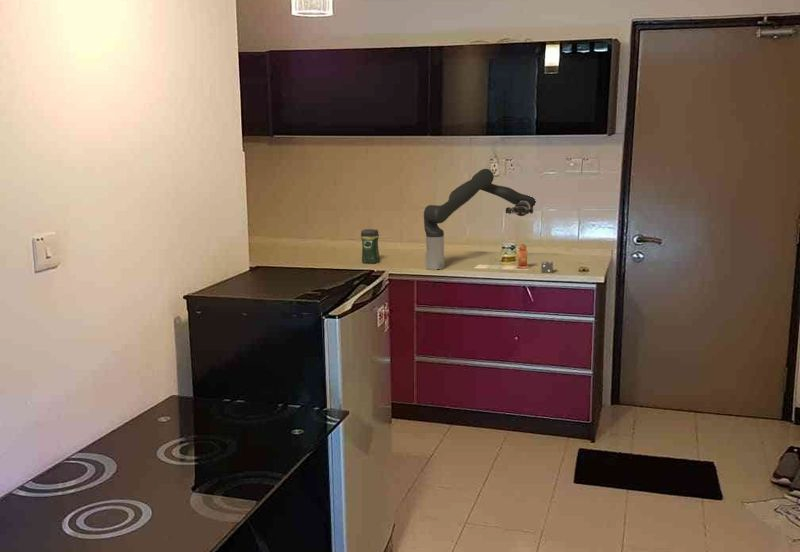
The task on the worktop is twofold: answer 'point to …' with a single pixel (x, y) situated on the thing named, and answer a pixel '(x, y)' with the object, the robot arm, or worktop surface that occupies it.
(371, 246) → the coffee jar
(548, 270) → the die
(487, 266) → the board
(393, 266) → the worktop surface
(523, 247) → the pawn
